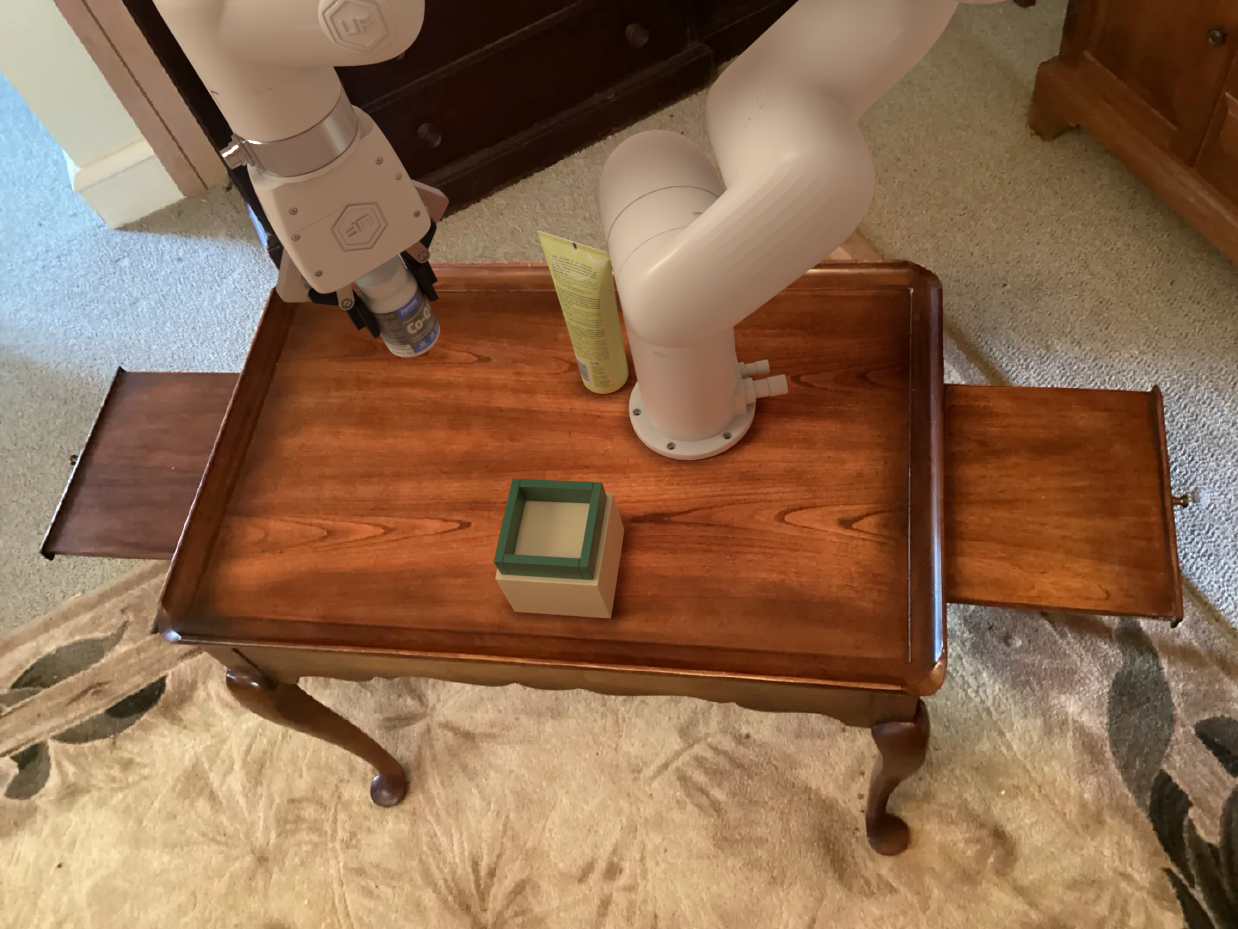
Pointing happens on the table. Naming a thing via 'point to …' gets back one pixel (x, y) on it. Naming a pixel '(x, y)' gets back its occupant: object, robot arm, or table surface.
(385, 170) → the robot arm
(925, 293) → the table surface
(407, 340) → the pill bottle
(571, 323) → the tube
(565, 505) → the green rimmed box
